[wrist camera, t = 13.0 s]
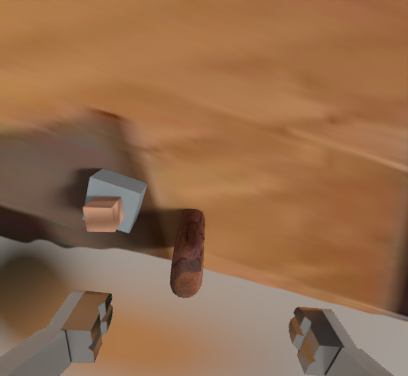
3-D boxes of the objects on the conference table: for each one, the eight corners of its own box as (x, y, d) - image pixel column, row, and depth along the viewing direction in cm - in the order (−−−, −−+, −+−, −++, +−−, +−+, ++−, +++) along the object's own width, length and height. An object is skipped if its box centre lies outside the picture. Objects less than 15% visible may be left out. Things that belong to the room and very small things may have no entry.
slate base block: (103, 168, 45) (90, 176, 39) (147, 183, 47) (140, 193, 41) (95, 206, 48) (81, 219, 43) (136, 219, 50) (129, 233, 44)
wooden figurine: (201, 248, 53) (201, 313, 37) (176, 246, 53) (165, 311, 36) (207, 208, 49) (211, 261, 32) (180, 205, 48) (170, 257, 32)
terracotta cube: (95, 195, 41) (82, 207, 36) (121, 196, 41) (111, 208, 36) (99, 217, 43) (87, 231, 38) (123, 218, 43) (114, 231, 38)
